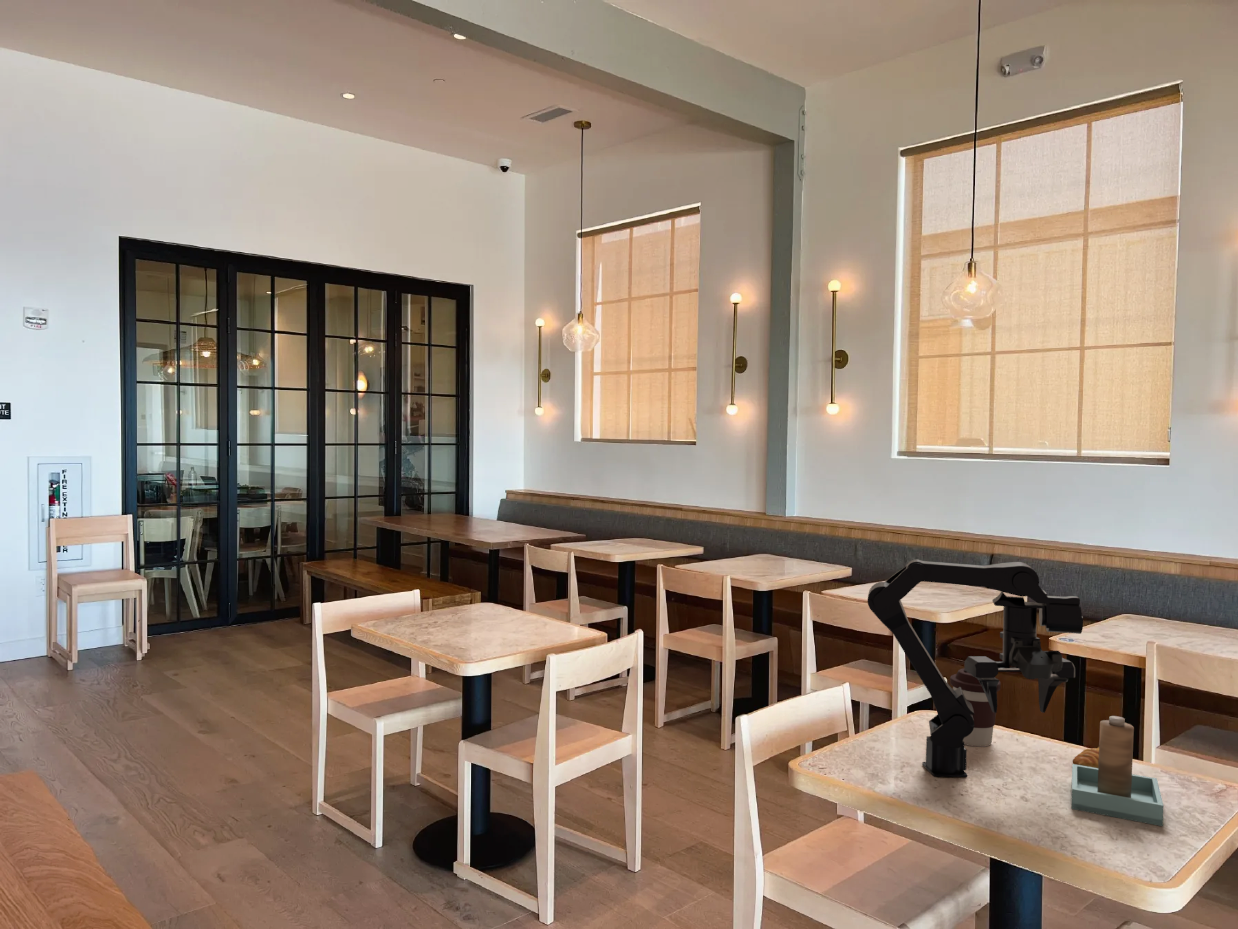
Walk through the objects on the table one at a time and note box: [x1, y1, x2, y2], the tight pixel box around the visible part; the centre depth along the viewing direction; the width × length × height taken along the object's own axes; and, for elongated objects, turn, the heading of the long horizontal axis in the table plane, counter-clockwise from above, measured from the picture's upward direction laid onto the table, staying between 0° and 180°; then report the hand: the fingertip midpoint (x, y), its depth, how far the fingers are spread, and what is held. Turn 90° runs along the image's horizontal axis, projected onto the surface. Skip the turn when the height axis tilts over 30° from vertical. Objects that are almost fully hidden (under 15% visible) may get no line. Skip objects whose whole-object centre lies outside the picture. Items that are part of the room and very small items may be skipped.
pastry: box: [1072, 746, 1099, 768], centre depth 171 cm, size 9×7×4 cm
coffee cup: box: [949, 667, 1002, 748], centre depth 185 cm, size 10×10×15 cm
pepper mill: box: [1097, 715, 1135, 798], centre depth 154 cm, size 5×5×14 cm
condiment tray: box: [1070, 763, 1164, 827], centre depth 154 cm, size 14×14×4 cm
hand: (1018, 712), depth 164 cm, fingers open, 9 cm apart
